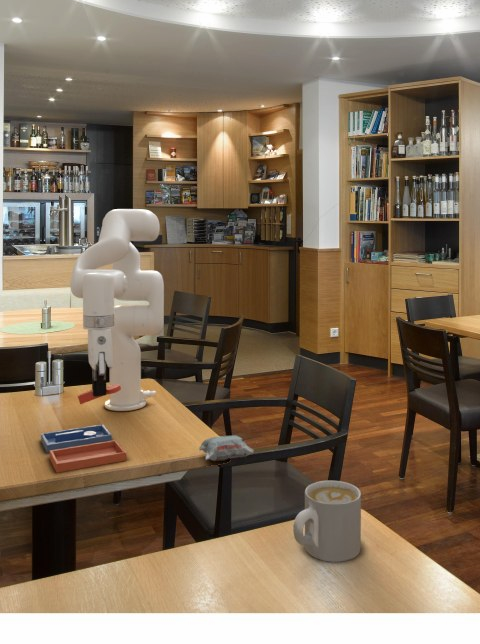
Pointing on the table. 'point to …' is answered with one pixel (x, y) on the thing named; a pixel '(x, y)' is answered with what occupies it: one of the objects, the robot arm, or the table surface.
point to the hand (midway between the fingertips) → (99, 394)
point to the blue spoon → (74, 435)
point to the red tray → (87, 456)
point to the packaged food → (225, 448)
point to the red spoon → (89, 396)
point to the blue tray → (50, 443)
